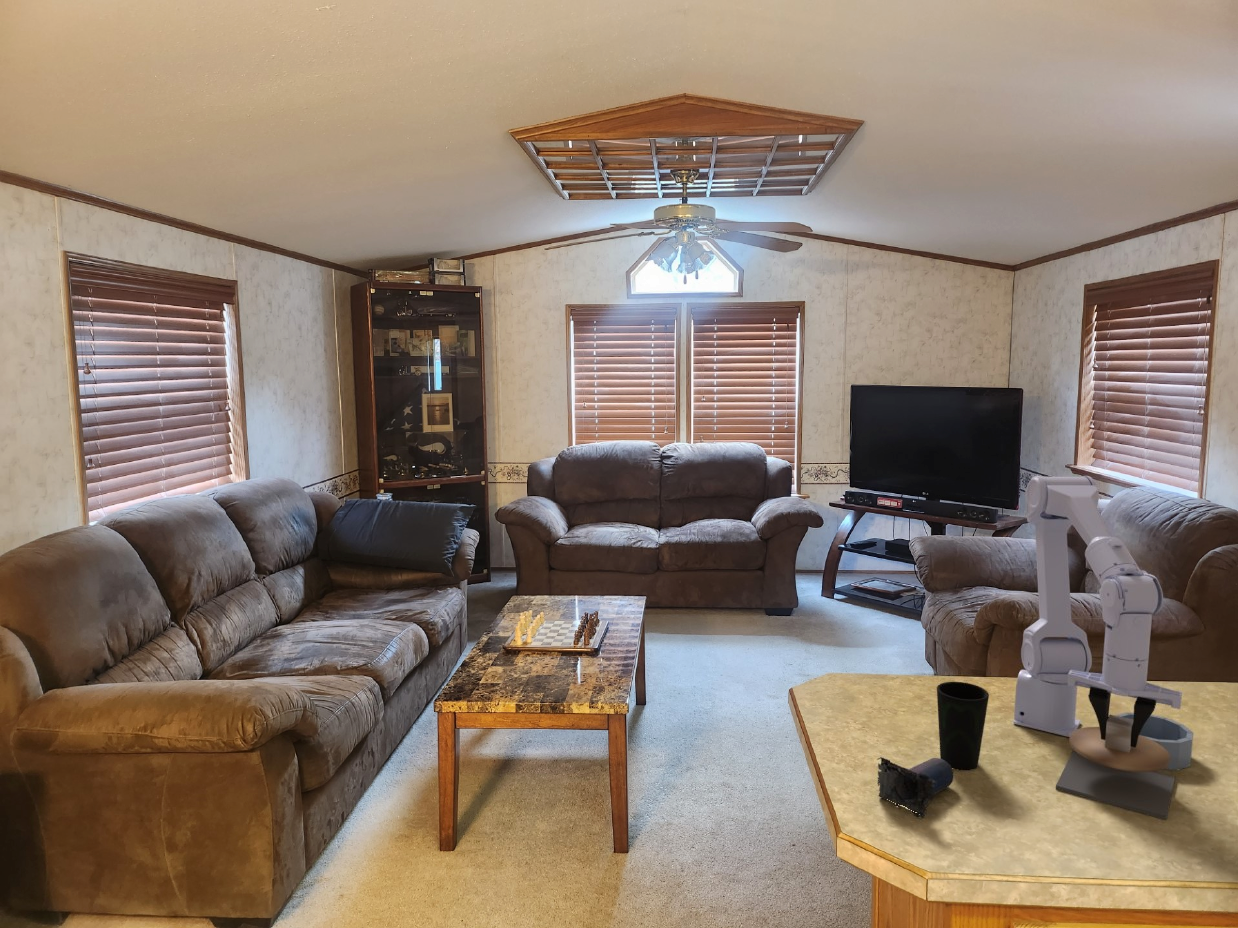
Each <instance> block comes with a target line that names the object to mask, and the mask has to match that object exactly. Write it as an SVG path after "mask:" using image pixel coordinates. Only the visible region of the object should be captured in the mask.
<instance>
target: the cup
mask: <svg viewBox="0 0 1238 928" xmlns="http://www.w3.org/2000/svg"><path fill="white" fill-rule="evenodd" d="M936 696H937V697H936V699H937V701H936V702H937V718H938V720H937V721H938V734H939V735H938V737H939V738H938V739H939V753H940V757H939V758H940V759H943V760H945V761H946V762H947V763H948V764H950V766H951V768H953V769H952V770H957V771H963V772H964V771H965V772H967V771H973V770H976V769H977V768H978V767H979V760H980V754H981V747H982V741H983V735H984V730H985V729H984V728H985V723H986V715H987V709H988V703H989V697H990V694H989V692H988V691H987V690H986V689H984V688H983V687H982V686H979V685H976V684H973V683H969V682H964V681H945V682H942V683H939V684H938V685H937V686H936Z"/></svg>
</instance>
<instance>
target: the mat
mask: <svg viewBox="0 0 1238 928" xmlns="http://www.w3.org/2000/svg"><path fill="white" fill-rule="evenodd" d="M1175 780H1176V776H1175V775H1171V774H1167V773H1163V772H1161V771H1155V772H1133V771H1125V770H1120V769H1115V768H1111V767H1108V766H1104V765H1101V764H1098V763H1096V762H1093V761H1091V760H1089V759H1087V758H1085V757H1083V756H1081V755H1080V754H1078V753H1077V752H1076V751H1075V750H1072V752H1071V754H1070V755H1069V757H1068V760H1067V762H1066V764H1065V765H1064V768H1063V770H1062V772H1061V774H1060V776H1059V778H1058V780H1057V782H1056V784H1055V790H1058V791H1061V792H1065V793H1068V794H1071V795H1076V796H1078V797H1079V796H1080V797H1083V798H1086V799H1090V800H1093V801H1098V802H1100V803H1104V804H1108V805H1112V806H1115V807H1119V808H1122V809H1125V810H1128V811H1129V810H1130V811H1132V812H1137V813H1140V814H1144V815H1147V816H1151V817H1154V818H1157V819H1162V820H1164V821H1166V820H1167V817H1168V813H1169V809H1170V804H1171V798H1172V795H1173V789H1174V785H1175Z"/></svg>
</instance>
